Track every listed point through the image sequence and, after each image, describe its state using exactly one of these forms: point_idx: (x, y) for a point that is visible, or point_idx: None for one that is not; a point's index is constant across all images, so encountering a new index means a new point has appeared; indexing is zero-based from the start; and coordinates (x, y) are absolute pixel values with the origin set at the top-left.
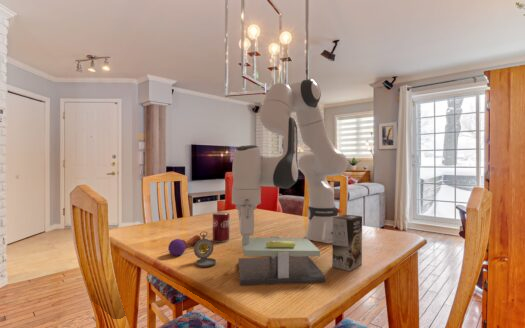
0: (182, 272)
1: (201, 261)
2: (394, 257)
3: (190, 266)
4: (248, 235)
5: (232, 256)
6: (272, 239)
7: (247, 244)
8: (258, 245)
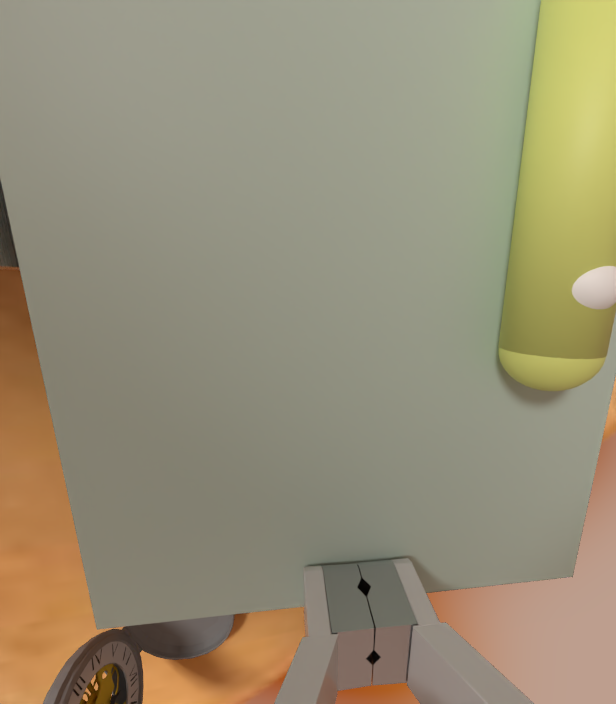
0: (287, 661)
1: (157, 632)
2: None
3: (216, 653)
4: (509, 694)
5: (38, 503)
6: (121, 244)
7: (404, 561)
8: (433, 453)
